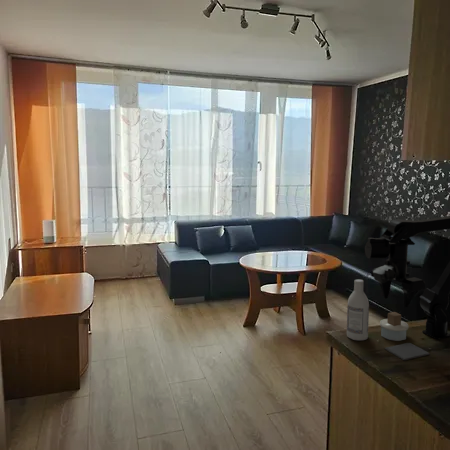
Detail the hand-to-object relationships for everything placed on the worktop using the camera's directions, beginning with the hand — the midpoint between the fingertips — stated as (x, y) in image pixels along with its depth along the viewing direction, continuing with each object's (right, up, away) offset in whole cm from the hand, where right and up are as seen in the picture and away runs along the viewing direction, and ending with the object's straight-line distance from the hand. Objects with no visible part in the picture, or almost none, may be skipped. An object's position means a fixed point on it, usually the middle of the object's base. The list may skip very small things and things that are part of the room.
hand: (395, 302), depth 137 cm
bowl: (0, -12, +2) cm, 12 cm away
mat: (-1, -14, -10) cm, 17 cm away
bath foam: (-12, -12, +2) cm, 18 cm away
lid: (0, -8, +1) cm, 8 cm away
